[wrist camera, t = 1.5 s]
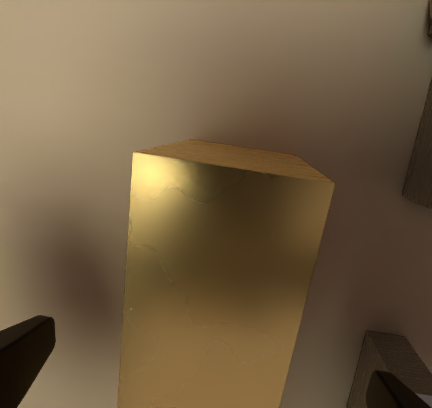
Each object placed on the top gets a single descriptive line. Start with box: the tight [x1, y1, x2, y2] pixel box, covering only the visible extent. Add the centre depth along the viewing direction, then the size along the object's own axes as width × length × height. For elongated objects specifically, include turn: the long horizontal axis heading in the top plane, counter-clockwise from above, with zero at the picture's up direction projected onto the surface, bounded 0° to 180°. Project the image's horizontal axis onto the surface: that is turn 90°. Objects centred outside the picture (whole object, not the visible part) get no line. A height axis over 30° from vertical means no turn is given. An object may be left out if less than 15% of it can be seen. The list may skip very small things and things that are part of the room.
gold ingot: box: [117, 139, 335, 408], centre depth 9 cm, size 11×3×5 cm, turn 172°
